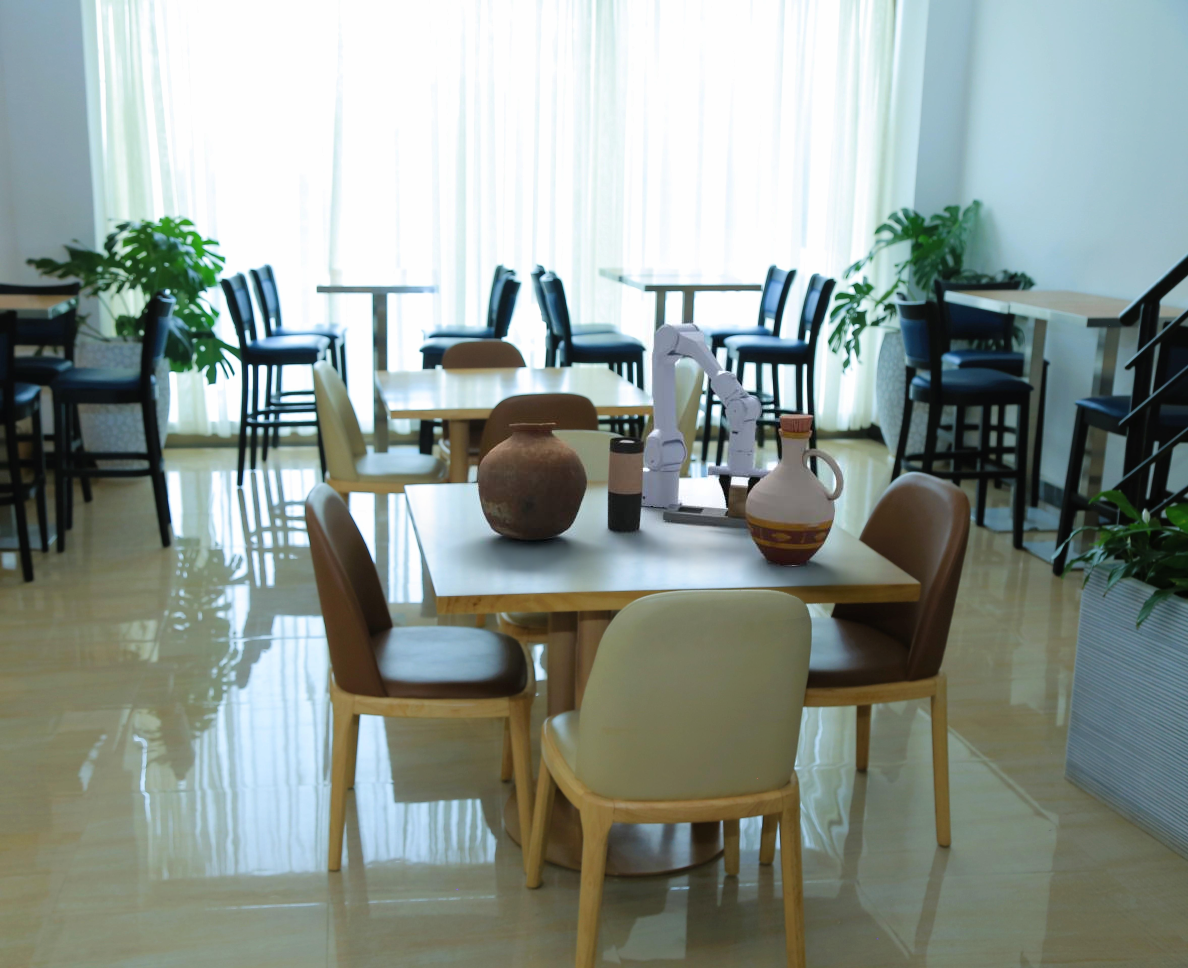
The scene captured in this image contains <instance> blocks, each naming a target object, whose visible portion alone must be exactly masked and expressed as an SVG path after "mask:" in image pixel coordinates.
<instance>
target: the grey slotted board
mask: <svg viewBox="0 0 1188 968" xmlns="http://www.w3.org/2000/svg"><path fill="white" fill-rule="evenodd" d="M662 515H663V516H662V518H663V519H662V521H663V520H665V521H664V522H672V521H676V522H675V523H684V522H685V523H684V524H697V525H708V526H720V527H733V528H741V529H742V528H745V529H749V528H748V523H747V518H745V517H733V516H728V508H721V507H712V506H711V507H709V506H708V507H707V506H698V505H685V504H680V505H675V504H670V505H669V506H668V507H667V508H665V510H664V511H663V514H662Z"/></svg>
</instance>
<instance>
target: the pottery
mask: <svg viewBox="0 0 1188 968" xmlns="http://www.w3.org/2000/svg"><path fill="white" fill-rule="evenodd" d="M556 425H557V424H556V422H549V423H514V424H509V425H508V426H509V429H510V430H511V431H512V434H511V435H510V436H509V437H508V438H507V439H505V440H503V441H502V442H500V443H498V444H497V445H496V446H495V447H493V448H492V449H491V450H489V452H487V454H486V455H485V456H484V457H483V459H482V460H481V461H480V465H479V466H478V473H477V485H478V486H477V487H478V490H477V491H478V497H479V502H480V507H481V510H482V513H483V516H484V518H485V520H486V522H487V523H488V525H489V527H490V529H491V530H493V532H494V533H497V534H498V535H501V536H504V537H505V538H510V539H516V540H523V541H538V540H541V541H542V540H547V539H550V538H554V537H557V536H559V535H562V534H563V533H565V532H567V531H568V530H569V529H570V528H571V527H572V526H573V524H574V522H575V520H576V518H577V516H578V514H579V511H580V509H581V506H582V503H583V500H584V496H585V494H586V492H587V488H588V487H587V486H588V477H587V473H586V470H585V467H584V464H583V462H582V460H581V458H580V456H579V455H578V454H577V452H576V451H575V450H574V448H572V447H571V446H570V445H569V444H568V443H567V442H565V441H564V440H562V439H561V438H560V437H557V436H556V435H555V434H554V433H553V429H554V428H555V427H556Z"/></svg>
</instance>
